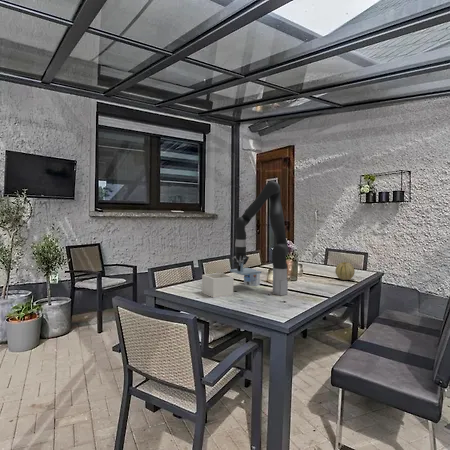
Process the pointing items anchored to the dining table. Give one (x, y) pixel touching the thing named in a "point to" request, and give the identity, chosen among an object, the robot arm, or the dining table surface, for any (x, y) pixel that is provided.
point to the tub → (217, 285)
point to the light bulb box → (252, 279)
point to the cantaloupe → (344, 271)
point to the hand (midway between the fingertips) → (240, 270)
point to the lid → (245, 270)
